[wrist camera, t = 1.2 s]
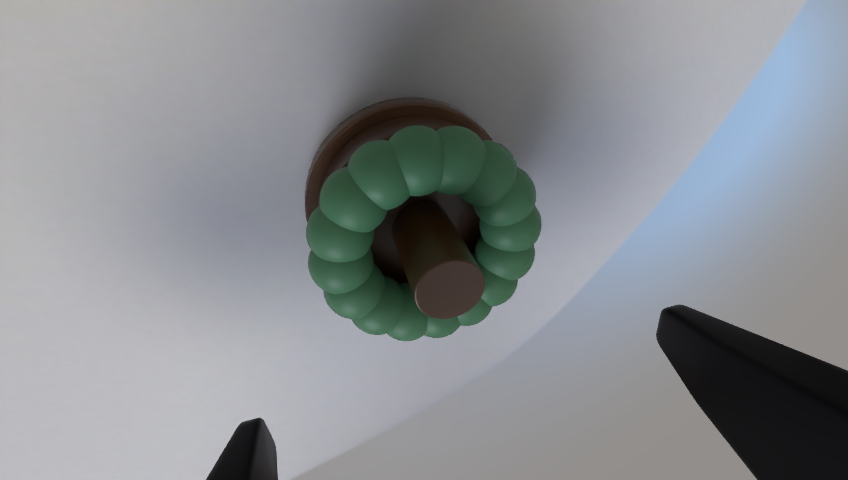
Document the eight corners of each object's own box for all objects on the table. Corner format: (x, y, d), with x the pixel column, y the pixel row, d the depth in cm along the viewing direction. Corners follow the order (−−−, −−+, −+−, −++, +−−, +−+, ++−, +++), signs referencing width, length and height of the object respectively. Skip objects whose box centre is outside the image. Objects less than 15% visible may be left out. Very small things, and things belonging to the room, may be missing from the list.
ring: (524, 289, 18) (548, 322, 16) (334, 336, 16) (338, 377, 15) (526, 94, 13) (558, 111, 12) (274, 141, 12) (270, 167, 11)
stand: (501, 257, 20) (570, 354, 14) (331, 297, 18) (341, 416, 13) (497, 79, 15) (591, 129, 10) (278, 119, 14) (265, 194, 9)
